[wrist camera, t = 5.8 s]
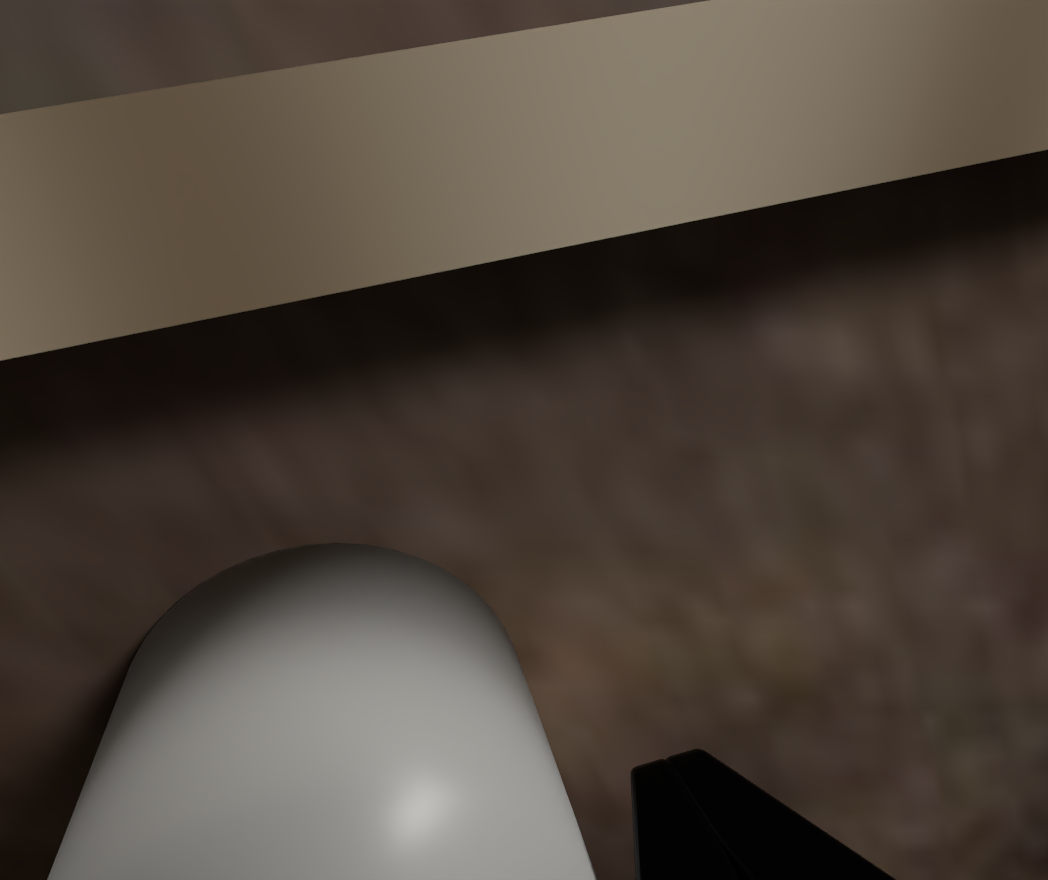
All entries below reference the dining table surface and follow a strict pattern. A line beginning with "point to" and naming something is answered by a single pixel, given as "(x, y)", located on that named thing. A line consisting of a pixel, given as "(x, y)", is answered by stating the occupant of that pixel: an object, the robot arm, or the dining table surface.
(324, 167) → the oak rail
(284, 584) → the grey egg-shaped dome
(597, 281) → the dining table surface
